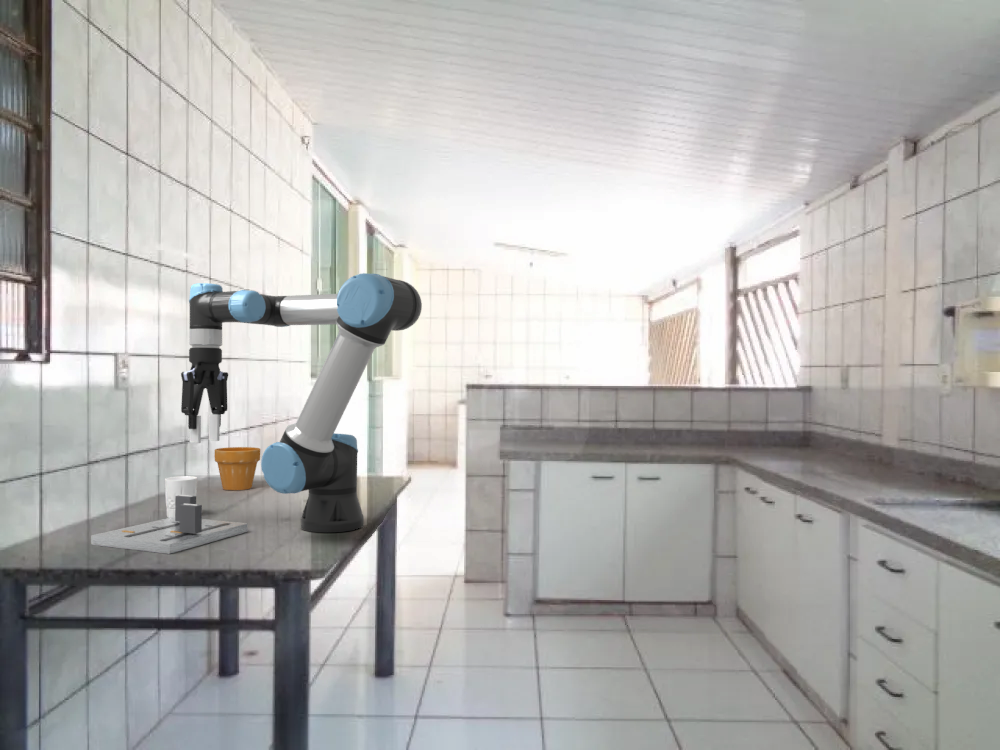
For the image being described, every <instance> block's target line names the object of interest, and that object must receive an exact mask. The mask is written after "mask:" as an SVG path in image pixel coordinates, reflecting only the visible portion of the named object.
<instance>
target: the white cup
mask: <svg viewBox="0 0 1000 750" xmlns="http://www.w3.org/2000/svg"><path fill="white" fill-rule="evenodd" d="M197 490H198V477H197V476H191V475H188V476H187V475H182V476H181V475H180V476H170V477H165V478H164V491H165V492H164V493H165V495H164V496H165V497H164V498H165V506H166V518H171V517H175V496H178V495H190V496H196V497H197V492H198V491H197Z"/></svg>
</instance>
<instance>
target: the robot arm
mask: <svg viewBox="0 0 1000 750" xmlns="http://www.w3.org/2000/svg"><path fill="white" fill-rule="evenodd" d="M223 290H224V289H223V287H222V285H220V284H216V283H206V282H205V283H194V284H191V287H190V291H189V299H188V302H189V303H188V304H189V340H188V341H189V342H188V343H189V345H190V346H191V347H190V348H189V349H188V360H189V361H188V362H189V363H191V367H190V370H188V371H182V372H181V373H180V376H181V382H182V388H181V406H180V407H181V409H180V411H181V413H182V414H184V416H187V417H188V422H187V425H188V426H187V427H188V429H189V443H190V444H191V443H192V444H195V443H196V444H201V441H202V415H199V412H200V408H201V403H202V399H203V395H204V390H206V391H207V396H208V401H209V402H208V403H209V408H210V411H211V414H208V441H209V442H210V441H211V442H212V441H214V442H218V441H220V437H221V436H220V431H221V430H220V429H221V425H222V424H221V422H222V421H221V420H222V419H221V418H222V415H225V413H226V412H227V411H228V379H229V372H226V371H225V372H224V371H221V368H220V364H221V363H222V362H223V349H222V348H221V346H223V323H242V324H251V325H264V326H273V327H278V328H280V327H281V328H283V327H284V328H285V327H290V326H319V325H321V326H322V325H323V326H324V325H325V326H327V325H328V326H329V325H336V326H337V329H338V333H337V336H336V337H335V339H334V342H333V344H332V346H331V348H330V351H329V352H328V354H327V356H326V359H325V361H324V363H323V365H322V367H321V369H320V371H319V374H318V376H317V378H316V380H315V382H314V384H313V386H312V389H311V391H310V393H309V395H308V396H307V399H306V402H305V404H304V405H303V407H302V410H301V411H300V414H299V416H298V417H297V421H296V422H295V423H292V424H289V425H288V426H287V427H285V430H284V432H283V434H282V436H281V438H280V440H279V441H276V442H274V443H271V444H270V445H269V446H267V447H266V448H265V450H264V451H263V452H262V457H261V459H260V461H261V462H260V463H261V464H260V465H261V471H262V473H263V478H264V480H265V482H266V483H267V485H268V486H269V487H270V488H271V489H272V490H273V491H275V492H277V493H279V494H283V495H285V494H286V495H287V494H298V493H300V492H303V491H308V497H307V499H306V502H305V505H304V509H303V513H302V515H301V518H300V528H301V530H304V531H307V532H311V533H342V532H344V533H345V532H350V531H355V529H356V530H359V529H361V528H363V527H364V517H365V516H364V514H363V511H362V507H361V504H360V501H359V498H358V494H357V493H358V452H359V448H358V440H357V438H356V437H355V436H354V435H353V434H347V433H335V432H336V429H337V427H338V425H339V423H340V421H341V420H342V418H343V415H344V412H345V411H346V409H347V406H348V405H349V402H350V401H351V398H352V396H353V395H354V393H355V390H356V388H357V386H358V383H359V382H360V380H361V377H362V376H363V374H364V372H365V369H366V367H367V365H368V363H369V361H370V359H371V358H372V355H373V354H374V351H375V349H376V348H379V347H382V346H384V345H385V344H386V342H387V340H388V338H389V335H390V334H391V332H392V331H395V332H396V331H397V332H398V331H404V330H408V329H409V328H411V327H412V326H413V325H414V324H416V323H417V321H418V320H419V318H420V316H421V314H422V309H423V308H422V307H423V306H422V304H423V303H422V298H421V296H420V294H419V291H417V289H416V288H415V286H413V285H412V284H410V283H408V282H407V281H404V280H401V279H396V278H392V277H389V276H385V275H381V274H378V273H364V272H363V273H358V274H356V275H353V276H351V277H349V278H348V279H346V280H345V281H344V282H343V284H342V285H341V286H340V289H339V291H338V293H327V294H326V293H325V294H323V293H322V294H321V293H320V294H303V295H301V294H298V295H297V294H296V295H267V294H261V293H259V292H258V291H256V290H248V289H241V290H233V291H232V290H231V291H223ZM360 527H361V528H360ZM358 528H359V529H358Z"/></svg>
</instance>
